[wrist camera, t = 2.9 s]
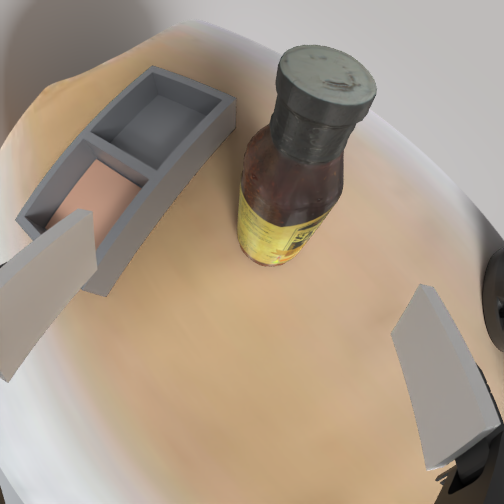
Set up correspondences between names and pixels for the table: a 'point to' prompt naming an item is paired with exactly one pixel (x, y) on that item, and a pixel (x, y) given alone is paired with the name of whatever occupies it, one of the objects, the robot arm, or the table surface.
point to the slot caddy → (132, 165)
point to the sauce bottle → (300, 151)
